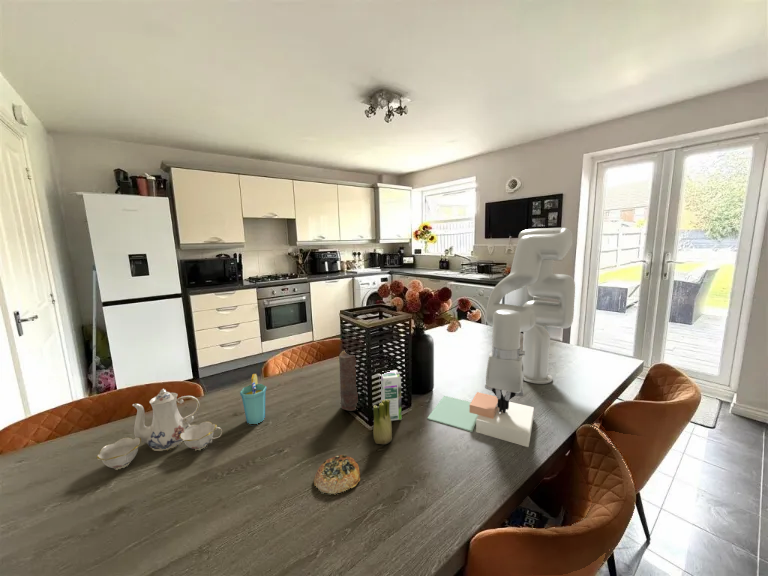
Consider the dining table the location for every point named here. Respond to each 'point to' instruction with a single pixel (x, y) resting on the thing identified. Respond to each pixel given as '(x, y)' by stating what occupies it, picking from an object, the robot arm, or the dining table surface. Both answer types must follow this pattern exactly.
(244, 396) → the cup
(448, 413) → the mat
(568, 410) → the dining table surface
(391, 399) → the syrup box
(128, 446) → the chinaware
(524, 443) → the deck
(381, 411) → the fennel bulb
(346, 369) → the candle
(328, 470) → the bread roll
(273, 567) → the dining table surface
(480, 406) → the tile
